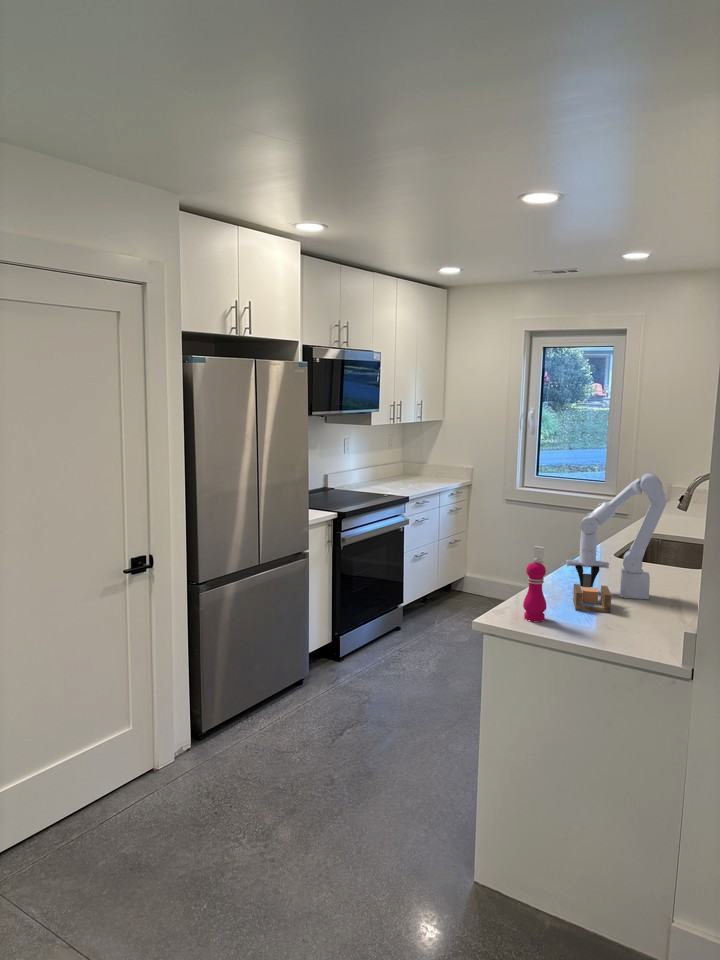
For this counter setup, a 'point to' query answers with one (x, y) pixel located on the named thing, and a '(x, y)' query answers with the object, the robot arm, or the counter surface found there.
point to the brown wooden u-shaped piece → (604, 601)
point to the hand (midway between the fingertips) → (586, 586)
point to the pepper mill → (535, 592)
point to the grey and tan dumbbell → (589, 590)
